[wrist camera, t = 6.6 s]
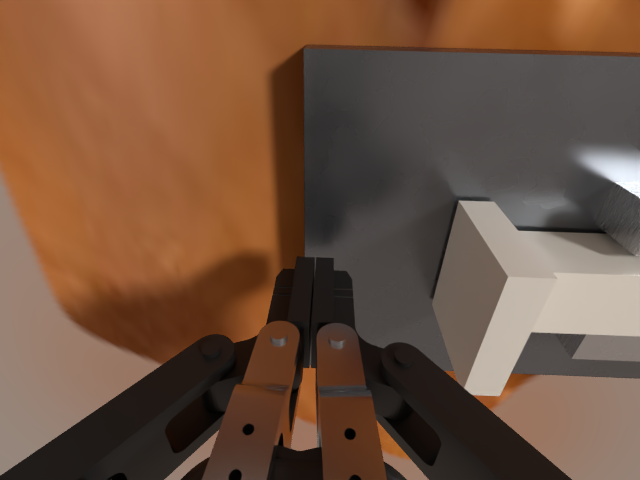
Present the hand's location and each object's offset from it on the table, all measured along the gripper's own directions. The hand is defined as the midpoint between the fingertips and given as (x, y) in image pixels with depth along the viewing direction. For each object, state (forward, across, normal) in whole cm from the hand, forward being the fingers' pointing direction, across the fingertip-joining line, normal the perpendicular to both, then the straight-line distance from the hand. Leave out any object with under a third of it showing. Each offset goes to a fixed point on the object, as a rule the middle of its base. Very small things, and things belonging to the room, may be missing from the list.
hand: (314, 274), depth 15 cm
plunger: (+1, -12, 0) cm, 12 cm away
